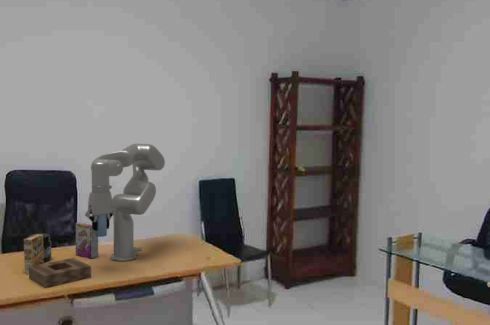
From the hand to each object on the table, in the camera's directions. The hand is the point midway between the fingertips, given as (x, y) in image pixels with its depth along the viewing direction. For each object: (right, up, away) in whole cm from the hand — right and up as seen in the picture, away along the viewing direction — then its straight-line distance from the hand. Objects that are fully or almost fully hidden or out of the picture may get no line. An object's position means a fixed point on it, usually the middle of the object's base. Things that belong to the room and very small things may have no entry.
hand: (100, 228), depth 221 cm
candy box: (-30, -19, -1) cm, 35 cm away
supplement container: (-33, -17, +14) cm, 40 cm away
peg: (0, -3, 0) cm, 3 cm away
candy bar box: (-14, -17, +23) cm, 31 cm away
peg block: (-15, -20, -10) cm, 26 cm away
